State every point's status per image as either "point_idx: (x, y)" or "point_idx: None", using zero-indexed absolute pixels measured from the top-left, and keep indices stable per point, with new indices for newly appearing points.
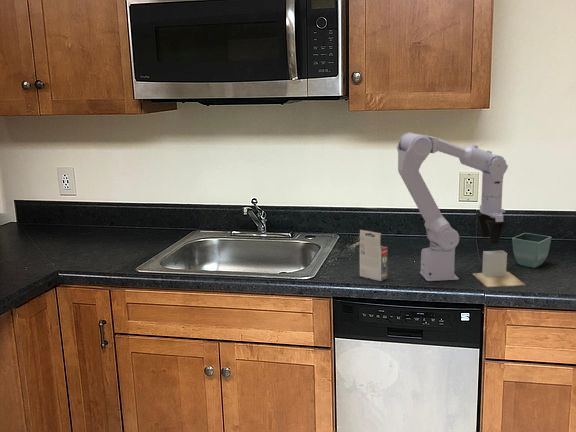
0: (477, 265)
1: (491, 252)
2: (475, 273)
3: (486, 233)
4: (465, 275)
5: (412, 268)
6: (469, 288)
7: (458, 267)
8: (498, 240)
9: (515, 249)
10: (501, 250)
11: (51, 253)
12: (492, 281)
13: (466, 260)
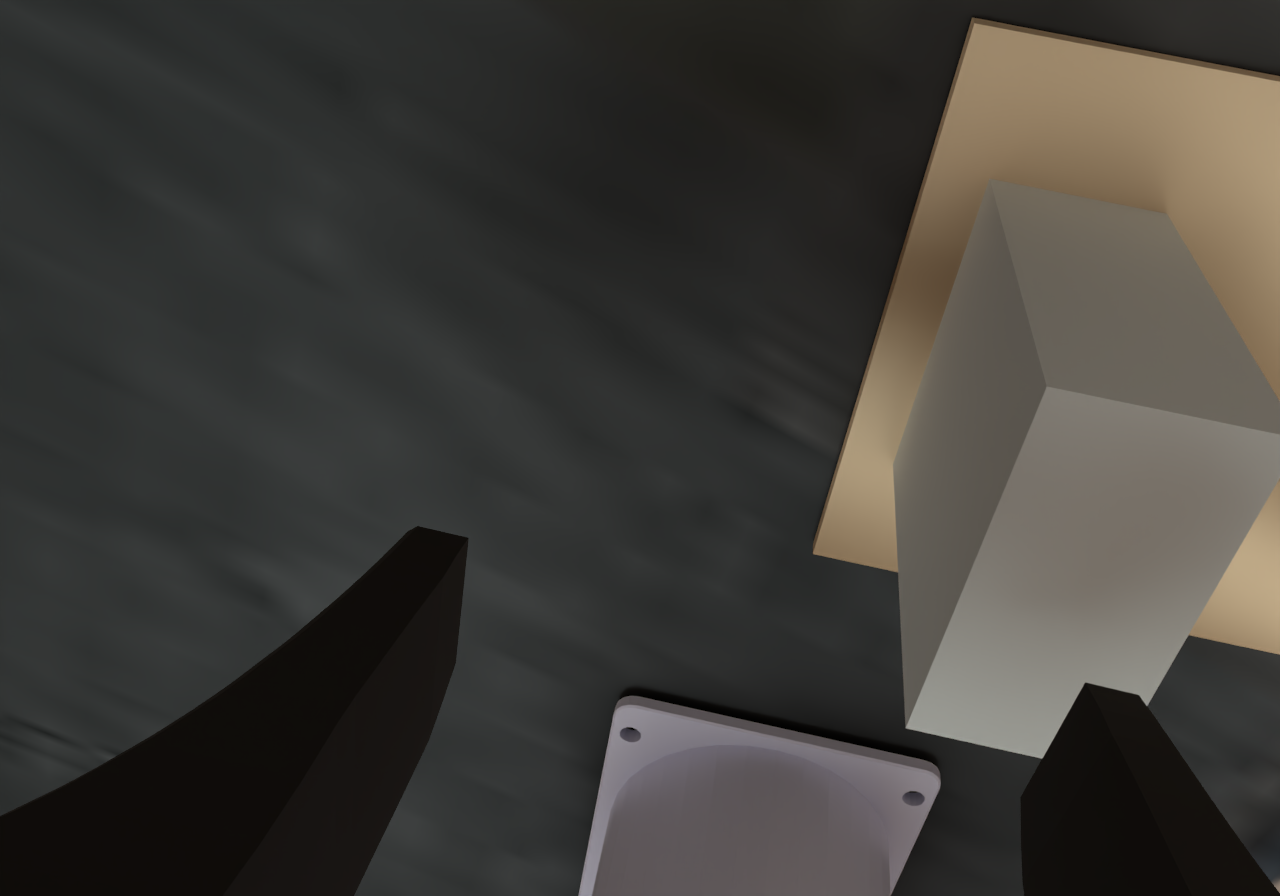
0: (428, 262)
1: (1060, 662)
2: (832, 524)
3: (430, 662)
4: (804, 617)
5: (401, 885)
6: (1257, 806)
7: (465, 527)
8: (1173, 768)
9: None
10: (1033, 421)
11: None
12: (1258, 521)
13: (157, 276)
